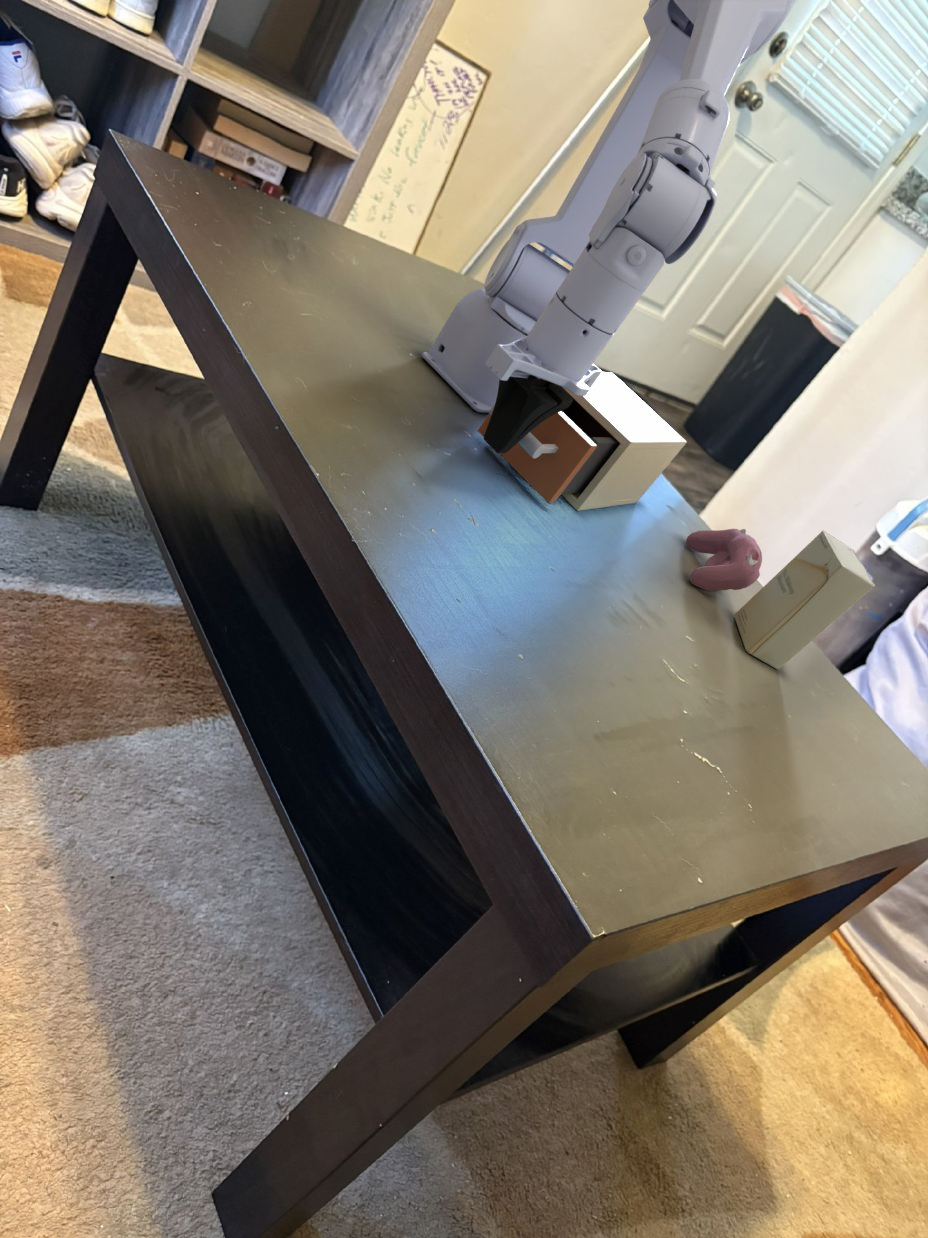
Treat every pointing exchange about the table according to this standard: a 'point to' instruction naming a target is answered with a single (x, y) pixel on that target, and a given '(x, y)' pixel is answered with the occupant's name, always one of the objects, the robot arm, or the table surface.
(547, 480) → the pod drawer
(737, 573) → the pink curved piece
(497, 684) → the table surface
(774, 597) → the cosmetic box
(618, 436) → the mini drawer cabinet
